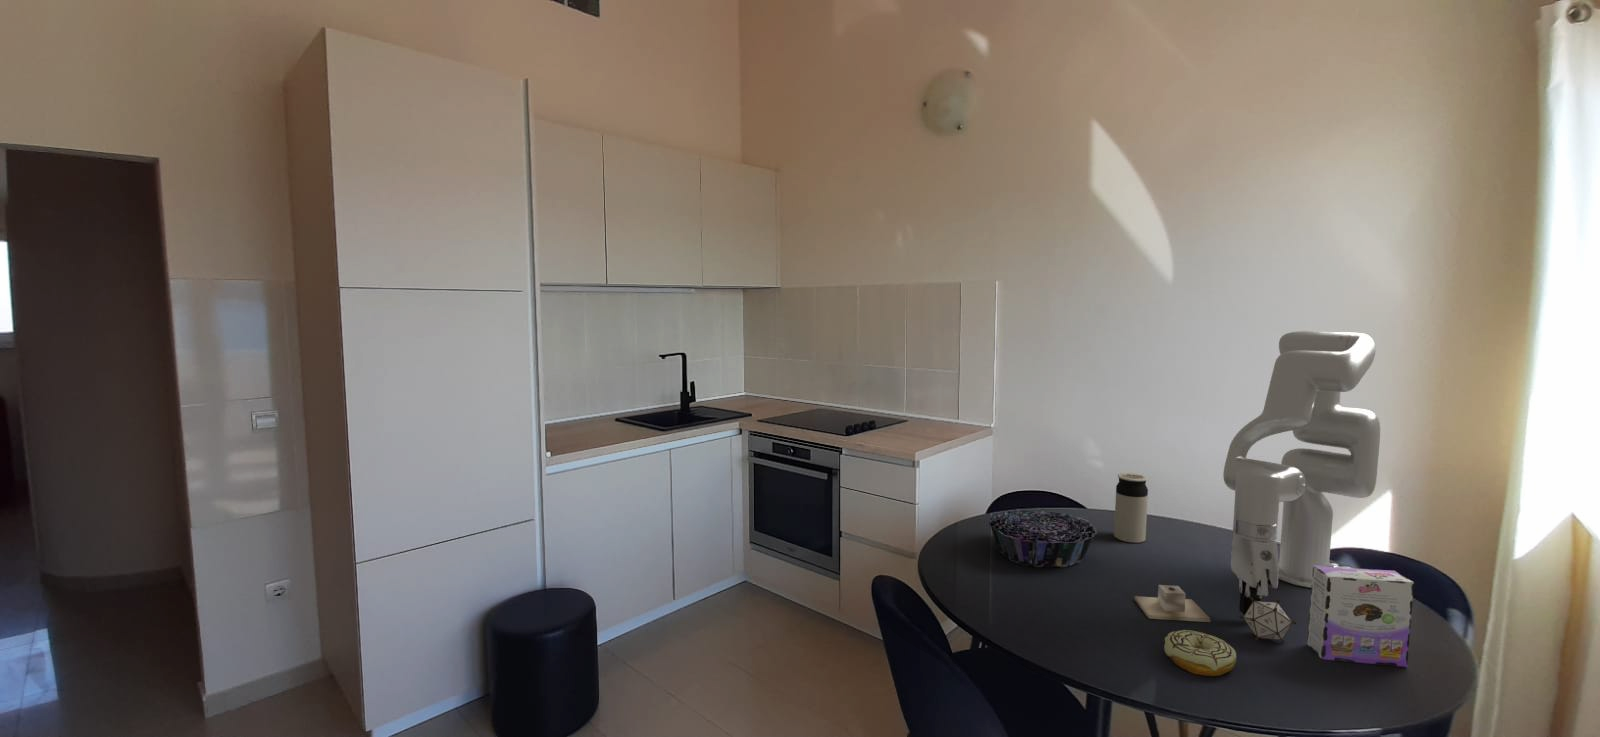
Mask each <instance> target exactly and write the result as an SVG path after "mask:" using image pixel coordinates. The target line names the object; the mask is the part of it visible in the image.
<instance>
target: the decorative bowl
mask: <svg viewBox="0 0 1600 737" xmlns="http://www.w3.org/2000/svg"><path fill="white" fill-rule="evenodd" d="M988 520H989V521H988V526H990V527H991V531H992V534H993V537H994V540H995V544H996V545H997V548H998V552H999V553H1000V554H1002V555H1003V556H1004V557H1005V558H1006V557H1007V558H1006V559H1008V560H1010V562H1012V561H1013V563H1015V562H1016V563H1015V564H1020V565H1021V566H1023V567H1035V568H1042V567H1043V568H1053V567H1056V568H1067V567H1068V566H1069V567H1071V566H1074V565H1077V564H1081V563H1082V561H1083V560H1084V559H1085V557H1086V555H1087V553H1088V551H1089V549H1090V546H1091V545H1092V542H1093V540H1094V539H1095V535H1096V534H1097V533H1098V530H1097V527H1096V526H1095V525H1093V524H1092V522H1091V521H1089V520H1087V519H1086V518H1085V519H1084V518H1082V517H1078V516H1077V515H1076V516H1075V515H1072V514H1067V513H1061V512H1054V511H1045V510H1044V511H1043V510H1042V511H1040V510H1025V509H1012V510H1011V509H1010V510H1006V511H1004V512H998V513H994V514H992V515H991V517H990V518H988Z"/></svg>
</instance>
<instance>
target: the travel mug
mask: <svg viewBox="0 0 1600 737" xmlns="http://www.w3.org/2000/svg"><path fill="white" fill-rule="evenodd" d="M1117 478H1118V483H1117V484H1116V485H1115V502H1114V503H1115V505H1114V506H1115V507H1114V508H1115V509H1114V528H1113V529H1114V530H1113V531H1114V532H1113V536H1114V537H1115V538H1116V539H1118V540H1119V541H1122V542H1125V543H1131V544H1133V543H1134V544H1140V543H1143V542H1146V538H1147V537H1146V536H1147V516H1148V515H1147V514H1148V493H1149V489H1148V487H1147V485H1146V483H1147V481H1148V477H1147V476H1146V475H1144V474H1139V473H1133V472H1132V473H1131V472H1122V473H1119V474H1117Z"/></svg>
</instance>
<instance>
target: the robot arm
mask: <svg viewBox="0 0 1600 737" xmlns="http://www.w3.org/2000/svg"><path fill="white" fill-rule="evenodd" d="M1278 351H1279V354H1280V355H1278V357H1277V358H1276V359H1275V362H1274V366H1273V369H1272V373H1271V377H1270V382H1269V385H1268V390H1267V394H1266V398H1265V401H1264V406H1263V409H1262V412H1261V413H1260V414H1259V416H1256V418H1254V419H1253V420H1251V421H1249V422H1248V423H1247V424H1245V425H1244V426H1243V427H1242V428H1241V429H1240V430H1239V431H1238V432H1237V433H1236V434H1235V436H1234V437H1233V439H1232V440H1231V442H1230V444H1229V447H1228V451H1227V455H1226V458H1225V463H1224V467H1223V474H1222V475H1223V476H1222V477H1223V478H1222V479H1223V482H1224V484H1225V485H1226V487H1227V488H1228V489H1230V490H1231V491H1234V503H1233V504H1234V506H1233V509H1234V510H1233V519H1232V520H1233V523H1232V533H1233V537H1232V543H1231V554H1230V569H1231V571H1232V572H1233V573H1234V574H1235V576H1236V578H1237V579H1238V583H1239V584H1238V588H1239V589H1238V590H1239V605H1238V606H1239V607H1238V610H1239V612H1240V613H1241V614H1242V615H1243V616H1244V615H1245V614H1246V612H1247V610H1248V609H1249V607H1250V605H1251V604H1252V602H1253V601H1252V600H1251V597H1252V598H1253V599H1254V601H1262V600H1261V599H1262V598H1263V597H1268V596H1269V589H1268V587H1269V588H1271V589H1273V590H1276V589H1277V588H1278V586H1279V580H1281V581H1283V582H1286V583H1289V584H1292V585H1294V586H1300V587H1303V588H1308V589H1309V588H1310V589H1311V587H1312V575H1313V565H1314V566H1328V567H1343V568H1351V566H1339V564H1338V563H1331V562H1330V556H1331V544H1332V543H1331V542H1332V530H1333V521H1334V520H1333V518H1334V512H1333V507H1332V505H1331V503H1330V502H1329V500H1328V498H1327V497H1326V496H1325V495H1324V493H1327V494H1333V495H1337V496H1338V495H1339V496H1342V497H1343V496H1344V497H1350V498H1355V499H1365V498H1368V497H1370V496H1372V494H1374V491H1375V488H1376V484H1377V479H1378V478H1377V476H1378V464H1379V454H1380V442H1381V423H1380V420H1379V417H1378V416H1377V414H1376V413H1375V412H1374V411H1372V410H1369V409H1366V408H1362V407H1361V408H1360V407H1349V406H1342V405H1341V393H1342V392H1343V393H1347V392H1350V391H1352V390H1353V389H1355V388H1356V386H1358V384H1359V383H1360V381H1361V380H1362V379H1363V377H1364V376H1365V374H1366V373H1367V371H1368V370H1369V369H1370V368H1371V366H1372V365H1373V362H1374V361H1375V360H1374V359H1375V356H1376V351H1377V350H1376V344H1375V341H1374V339H1373V338H1372V337H1371V336H1370V335H1368V334H1366V333H1363V332H1362V333H1361V332H1346V331H1345V332H1344V331H1343V332H1340V331H1339V332H1337V331H1333V332H1332V331H1319V330H1318V331H1313V330H1312V331H1309V330H1308V331H1307V330H1306V331H1305V330H1304V331H1303V330H1302V331H1301V330H1300V331H1292V332H1291V331H1290V332H1287V333H1285V334H1283V335H1282V336H1281V337H1280V339H1279V342H1278ZM1291 431H1292V433H1293V436H1294V438H1295V439H1296V440H1298V441H1299V442H1303V443H1305V444H1306V443H1307V444H1311V445H1319V446H1326V447H1333V448H1340V449H1345V450H1348V452H1349V453H1350V454H1347V453H1346V454H1345V453H1340V452H1332V451H1326V450H1322V449H1321V450H1319V449H1313V448H1300V447H1299V448H1293V449H1290V450H1288V451H1286V452H1285V453H1284V454H1283V456H1282V458H1281V463H1276V462H1271V461H1265V460H1259V459H1253V458H1247V456H1248V454H1249V451H1250V450H1251V448H1252V446H1254V445H1255V444H1256V443H1258V442H1259V441H1261V440H1262V439H1265V438H1268V437H1270V436H1271V437H1272V436H1274V435H1278V434H1282V433H1286V432H1291ZM1280 503H1283V504H1282V516H1281V517H1282V519H1281V529H1280V530H1281V533H1280V544H1279V545H1280V546H1279V549H1280V550H1279V552H1278V544H1277V541H1276V540H1277V538H1278V536H1277V535H1278V525H1279V524H1278V523H1279V511H1280V510H1279V508H1280Z"/></svg>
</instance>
